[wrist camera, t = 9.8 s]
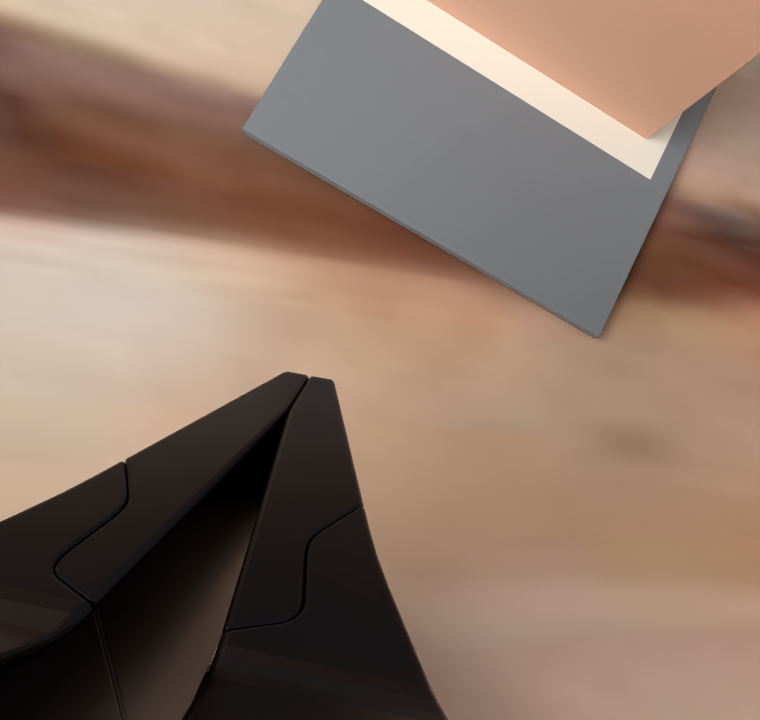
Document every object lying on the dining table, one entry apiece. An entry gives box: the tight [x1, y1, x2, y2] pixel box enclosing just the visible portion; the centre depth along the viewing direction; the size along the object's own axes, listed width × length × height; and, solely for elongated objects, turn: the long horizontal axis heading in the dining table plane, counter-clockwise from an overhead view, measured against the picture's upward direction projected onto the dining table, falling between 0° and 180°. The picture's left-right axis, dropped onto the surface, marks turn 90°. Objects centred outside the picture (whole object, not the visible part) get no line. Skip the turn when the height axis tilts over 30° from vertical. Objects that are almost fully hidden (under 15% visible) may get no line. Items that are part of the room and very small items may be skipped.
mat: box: [242, 0, 717, 338], centre depth 24 cm, size 23×18×1 cm
